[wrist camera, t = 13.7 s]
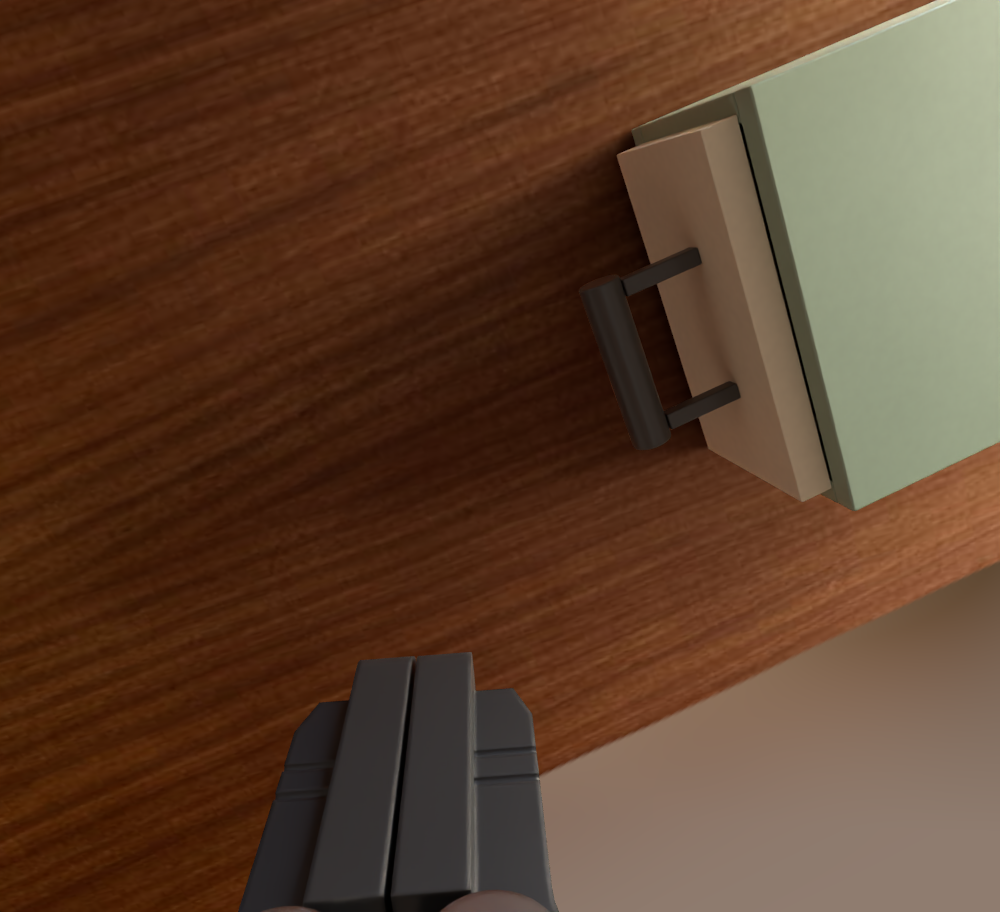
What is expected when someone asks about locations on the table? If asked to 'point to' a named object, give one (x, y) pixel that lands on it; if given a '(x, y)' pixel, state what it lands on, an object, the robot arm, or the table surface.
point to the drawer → (711, 311)
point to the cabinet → (885, 235)
